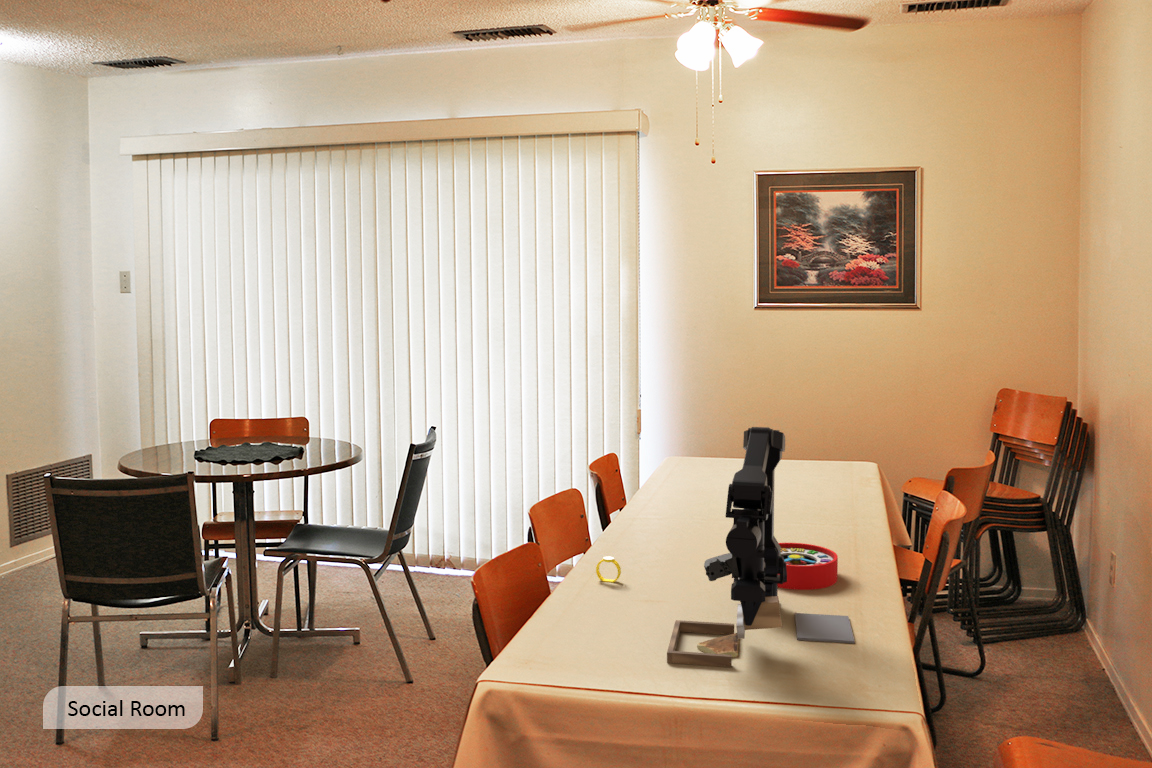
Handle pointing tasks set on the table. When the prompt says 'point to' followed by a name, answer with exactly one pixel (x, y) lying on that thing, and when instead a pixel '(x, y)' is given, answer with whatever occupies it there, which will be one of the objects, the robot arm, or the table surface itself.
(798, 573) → the toy clock
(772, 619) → the wood and metal bracket
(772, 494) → the robot arm
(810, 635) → the rubber mat
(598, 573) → the watch
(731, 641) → the shard
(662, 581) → the table surface
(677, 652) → the bar
